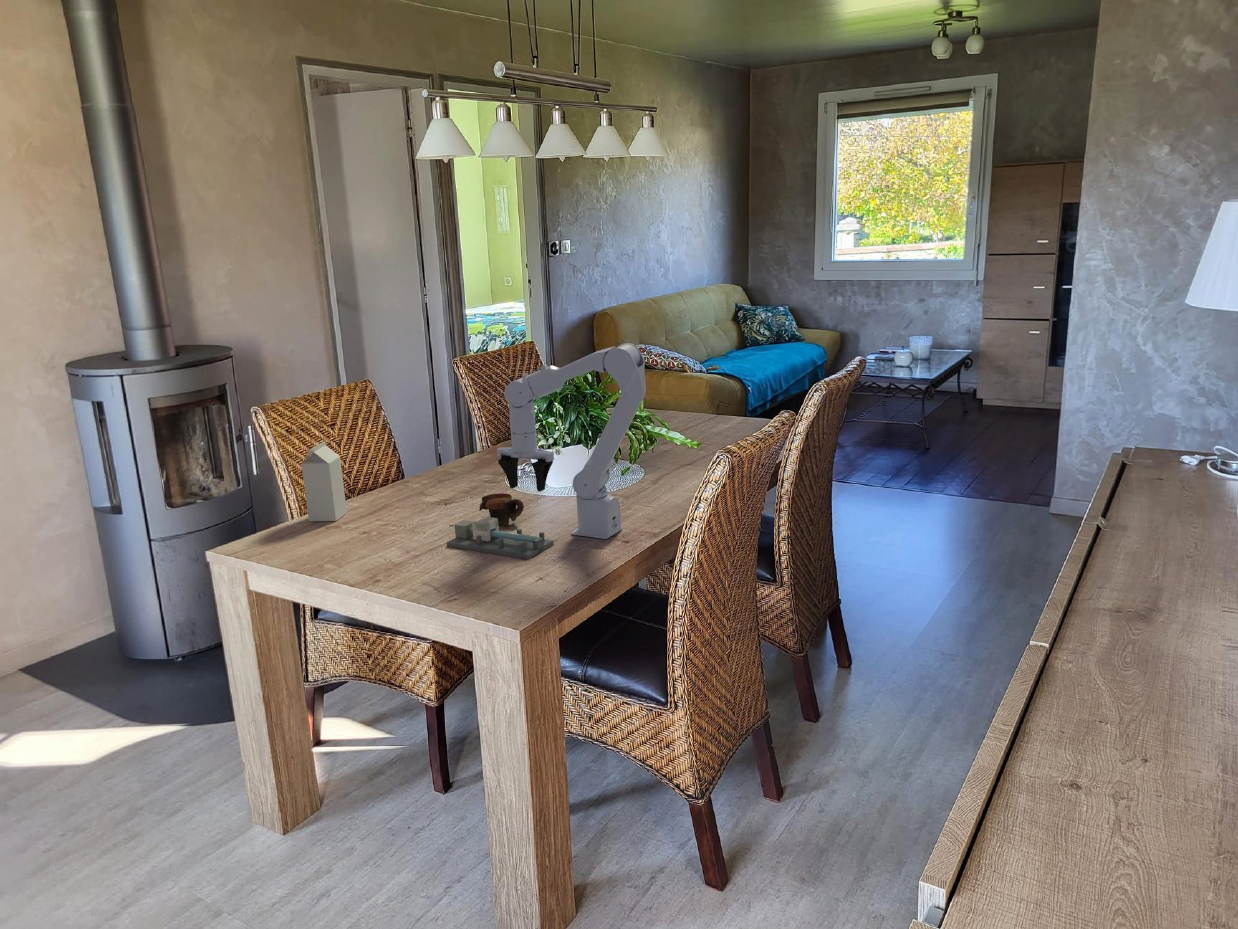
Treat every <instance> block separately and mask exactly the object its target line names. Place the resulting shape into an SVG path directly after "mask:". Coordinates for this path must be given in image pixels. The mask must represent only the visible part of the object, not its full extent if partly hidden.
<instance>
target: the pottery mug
mask: <svg viewBox="0 0 1238 929" xmlns="http://www.w3.org/2000/svg"><path fill="white" fill-rule="evenodd" d="M478 507H479V510H478V511H479V512H480V511H482V510H485V511H486V510H488V513H489V517H493V518H498V526H500V527H509V526H510V520H511V521H512V522H515V521H516V520H517V518H518V517H520V516H521V515H522V513H523V511H524V507H525V506H524V503H523V501H522V500H521V499H517V498H513V496H512V494H510V493H503V492H502V493H501V492H500V493H499V492H497V493H493V494H492V493H491V494H487V495H484V496H482V497H481V502H480V504H479V506H478Z"/></svg>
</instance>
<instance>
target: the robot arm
mask: <svg viewBox="0 0 1238 929" xmlns="http://www.w3.org/2000/svg"><path fill="white" fill-rule="evenodd" d="M645 365H646V361H645V359H644V356H643V355H642V352H641V350H640V349H639V347H638V346H636V345H635V344H634V343H631V342H630V343H629V342H625V343H622V344H619V345H618V346H617V347H616V346H610V347H607V348H603V349H600V350H597V351H595V352H593V353H590V354H588V355H586V356H584V357H582V358H580V359H578V360H577V359H576V360H575V361H572V362H571V363H568V364H567V365H564V366H562V367H557V366H555V365H551V364H550V365H549V366H548V364H545V365H541V366H540V367H539V369H540V370H537V371H534V372H532V373H530V374H528V373H525V374H522V377H520V378H518V379H516V380H513V381H511V382H509V383H508V384H507V385H506V387H505V388H504V392H503V393H504V395H503V396H504V399H505V401H506V402H507V404H508V411H509V427H510V437H511V438H510V439H511V440H510V442H511V447H507V446H506V447H505V446H502V447H501V446H500V447H499V448H497V449H496V456H497V458H500V459H498V461H497V463H498V464H499V466H500V467H501V469H502V470H503V472H504V474H505V477H506V479H507V482H508V484H509V488H510V489H515V488H517V487H518V485H519V484H518V483H519V482H518V481H519V479H518V478H519V476H518V466H519V465H518V464H519V460H520V459H525V460H535V461H534V462H532V463H531V466H532V468H533V471H534V475H535V483H536V485H535V486H536V491H537V492H539V493H540V492H543V491H545V489H546V485H547V478H548V475H549V472H550V470H551V467H552V465H553V463H554V460H555V454H554V452H555V451H550V450H546V449H545V450H544V449H542V448H538V442H537V440H538V439H537V429H536V428H537V427H536V413H535V403H534V400H538V399H541V398H543V397H545V396H547V395H550V394H552V393H556V392H558V391H559V390H562V389H563V387H564V384H565V382H566V381H568V380H571V379H573V378H574V379H575V378H578V377H579V376H582V375H584V374H588V373H590V372H593V371H596V372H599V373H606V372H607V373H608V374H609V376H610V377H611V378H612V379H613V380H614V381H615V383H616V384H617V386H618V389H619V390H620V393H621V394H620V395H619V398H618V400H617V402H616V404H615V406H614V408H613V410H612V412H611V414H610V416H609V418H608V420H607V422H606V425H605V427H604V429H603V431H602V433H601V435H600V436H599V439H598V441H597V443H596V444H595V447H594V449H593V451H592V453H591V455H590V457H589V458H588V459H587V461H586V462H585V464H584V467H583V468H582V469H581V470H580V471H579V472H578V473H577V474H575V475H574V476H573V479H572V487H573V490H574V492H575V495H576V510H577V511H576V512H577V528H576V529H574V530H572V531H571V532H570V535H573V536H581V537H586V538H587V537H588V538H595V539H601V540H602V539H603V540H607V539H609V538H610V537H612V536H613V535H615V534H617V533H618V532H620V531H622V530H623V526H622V523H621V522H622V521H621V520H622V519H621V503H620V501H619V499H618V498H617V497H615V496H612V495H610V494H609V491H608V489H607V487H606V485H607V484H608V482H609V480H610V470H611V467H612V464H613V460H614V458H615V456H616V454H617V452H618V449H619V448H620V446H621V444H622V442H623V439H624V438H625V436H626V433H627V432H628V429H629V428H630V425H631V423H632V422H633V420H634V418H635V415H636V414H637V412H638V409H639V408H640V405H641V404H642V402H643V400H644V398H645V396H646V393H647V387H646V386H647V385H646V371H645V367H646V366H645Z"/></svg>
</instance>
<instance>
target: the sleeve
mask: <svg viewBox="0 0 1238 929" xmlns="http://www.w3.org/2000/svg"><path fill="white" fill-rule="evenodd" d="M472 521H473V522H472V527H473V538H474V539H475V540H476V536H478V535H481V539H482V541H490V540H491V537H490V530H494V531H499V527H498V518H493V517H490V516H482V517H479V518H477V519H475V520H472Z"/></svg>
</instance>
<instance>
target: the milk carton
mask: <svg viewBox="0 0 1238 929" xmlns="http://www.w3.org/2000/svg"><path fill="white" fill-rule="evenodd" d="M306 456H307V458H305V460H304V461H303V462H302V463H301V472H302V479H303V488H304V493H305V494H304V495H305V501H306V502H305V503H306V511H307V515H308V516H307V518H308V522H337V521H338V520H339V519H342V517H343V516H345V515H346V514H347V512H348V511H347V503H346V495H345V487H344V479H343V470H342V462H341V456H340V455H339V454H337V453H336V452H335V451H334V450H332V449H331V448H330V447H328V446H327V445H326V441H325V440H323V441H322V442H321V443H318V444H317V445H315V446H313V447H312V448H310V450H309V451H308V452H306Z"/></svg>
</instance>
